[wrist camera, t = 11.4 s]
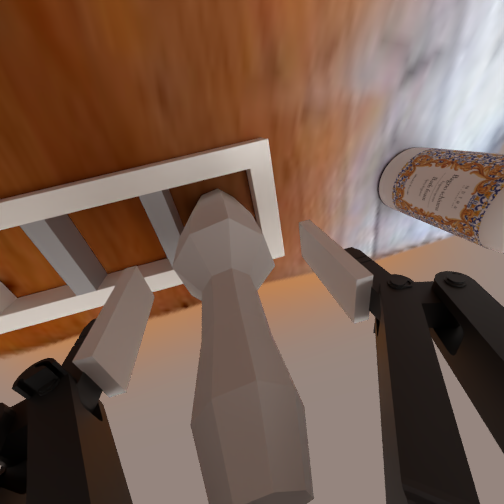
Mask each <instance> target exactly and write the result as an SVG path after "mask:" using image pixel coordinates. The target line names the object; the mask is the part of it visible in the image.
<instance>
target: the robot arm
mask: <svg viewBox="0 0 504 504" xmlns="http://www.w3.org/2000/svg"><path fill="white" fill-rule="evenodd" d="M299 231H300V241H301V252H302V257H303V258H304V259H305V261H306V262H307V263H308V265H309V266H310V267H311V269H312V270H313V271H314V272H315V274H316V275H317V276H318V278H319V279H320V280H321V281H322V283H323V284H324V286H325V287H326V288H327V289H328V291H329V292H330V293H331V294H332V296H333V297H334V299H335V300H336V301H337V302H338V304H339V305H340V306H341V307H342V309H343V310H344V312H345V313H346V314H347V315H348V317H349V318H350V319H351V321H352V322H353V323H358V322H362V321H365V320H368V319H369V311H371V313H372V314H373V315H374V316H375V324H374V333H375V334H376V349H377V365H378V381H379V395H380V411H381V427H382V442H383V458H384V474H385V489H386V504H480V502H479V499H478V496H477V492H476V489H475V485H474V482H473V478H472V475H471V471H470V468H469V465H468V461H467V458H466V454H465V451H464V447H463V444H462V441H461V438H460V434H459V430H458V427H457V424H456V420H455V417H454V413H453V410H452V407H451V403H450V400H449V396H448V393H447V389H446V386H445V383H444V379H443V376H442V372H441V369H440V365H439V362H438V359H437V355H436V352H435V348H434V345H433V341H432V339H433V340H434V342H435V344H436V345H437V347H438V348H439V350H440V352H441V353H442V355H443V356H444V358H445V360H446V361H447V363H448V365H449V366H450V368H451V369H452V371H453V373H454V374H455V376H456V377H457V379H458V381H459V382H460V384H461V385H462V387H463V389H464V390H465V392H466V393H467V395H468V397H469V398H470V400H471V402H472V403H473V405H474V406H475V408H476V410H477V411H478V413H479V415H480V416H481V418H482V419H483V421H484V422H485V424H486V426H487V427H488V429H489V431H490V432H491V434H492V435H493V437H494V439H495V440H496V442H497V443H498V445H499V447H500V448H501V450H502V452H503V453H504V307H503V306H502V305H501V304H499V303H498V302H497V301H496V300H495V299H494V298H493V297H492V296H491V295H490V294H489V293H488V292H487V291H485V290H484V289H483V288H482V287H481V286H480V285H479V284H478V283H477V282H476V281H475V280H473V279H472V278H470V277H469V276H467V275H464V274H462V273H458V272H452V271H451V272H450V271H445V272H440V273H438V274H436V275H435V278H434V281H431V282H414V281H412V280H411V279H410V278H407V277H405V276H402V275H397V274H393V275H391V274H390V273H388V272H387V271H386V270H385V269H383V268H382V267H381V266H379V265H378V264H377V263H376V262H374V261H372V259H370V258H369V257H368V256H367V255H365V254H364V253H363V252H362V251H360V250H358V249H355V248H352V247H350V248H347V249H343V248H342V247H341V246H339V245H338V244H337V243H336V242H335V241H334V240H332V239H331V238H330V237H329V236H328V235H327V234H325V233H324V232H323V231H322V230H321V229H320V228H319V227H317V226H316V225H315V224H314V223H313V222H312V221H310V220H306V221H302V222H299ZM153 300H154V295H153V293H152V291H151V290H150V288H149V286H148V284H147V283H146V281H145V279H144V277H143V276H142V274H141V272H140V270H139V269H138V267H137V266H133V267H129V268H126V269H124V271H123V273H122V275H121V276H120V278H119V280H118V282H117V284H116V285H115V287H114V289H113V291H112V292H111V294H110V296H109V298H108V299H107V301H106V303H105V305H104V306H103V308H102V310H101V312H100V313H99V315H98V317H97V319H93V320H92V321H91V322H90V323H89V324H88V325H87V326H86V327H85V328H84V329H83V331H82V332H81V334H80V336H79V339H77V341H76V343H75V344H74V345H75V346H73V347H72V349H71V351H70V352H69V354H68V356H67V357H66V359H65V361H64V362H63V364H62V366H61V365H60V364H59V363H58V362H57V361H56V360H54V359H53V358H47V359H43V360H41V361H39V362H37V363H35V364H33V365H32V366H30V367H29V368H28V369H26V370H25V371H24V372H23V373H22V374H21V375H20V376H19V377H18V378H17V380H16V381H15V382H14V384H13V387H12V389H13V390H14V391H16V392H18V393H19V394H20V395H22V396H23V397H24V398H26V399H25V400H23V401H22V402H20V403H18V404H16V405H14V406H12V407H8V406H7V405H5V404H4V403H0V465H1V469H0V504H133V503H132V500H131V496H130V493H129V489H128V486H127V483H126V479H125V476H124V473H123V469H122V466H121V463H120V459H119V456H118V452H117V449H116V446H115V442H114V439H113V436H112V432H111V429H110V426H109V422H108V419H107V416H106V412H105V409H104V405H103V404H102V402H101V401H100V400H99V398H100V395H101V393H102V391H103V392H104V393H105V394H106V395H107V396H108V397H112V396H116V395H119V394H122V393H126V392H127V388H128V385H129V381H130V378H131V375H132V371H133V368H134V365H135V361H136V358H137V354H138V351H139V348H140V344H141V341H142V337H143V334H144V331H145V327H146V324H147V321H148V317H149V314H150V311H151V307H152V304H153ZM431 337H432V338H431Z"/></svg>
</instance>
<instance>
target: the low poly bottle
mask: <svg viewBox="0 0 504 504" xmlns="http://www.w3.org/2000/svg"><path fill="white" fill-rule="evenodd" d="M274 266H275V264H274V261H273V259H272V256H271V254H270V251H269V248H268V246H267V243H266V240H265V238H264V235H263V233H262V232H261V230H260V228H259V226H258V225H257V223H256V221H255V219H254V217H253V216H252V214H251V213H250V212H249V211H248V210H247V209H246V208H245V207H244V206H243V205H241V204H240V203H239V202H238V201H237V200H236V199H235V198H234V197H232V196H231V195H229V194H227V193H225V192H223V191H222V190H220V189H218V188H217V189H215V190H213V191H210V192H208V193H206V194H203V195H201V197H200V199H199V201H198V202H197V204H196V206H195V208H194V210H193V211H192V213H191V215H190V217H189V219H188V221H187V223H186V225H185V227H184V229H183V231H182V233H181V235H180V237H179V240H178V245H177V249H176V253H175V258H174V262H173V267H172V268H173V269H174V271H175V272H176V274H177V275H178V276H179V278H180V279H181V281H182V282H183V284H184V285H185V286H186V288H187V289H188V291H189V292H190V294H191V295H192V296H194V297H196V298H198V299H199V300H201V301H202V342H201V349H200V358H199V365H198V373H197V380H196V388H195V397H194V403H193V411H192V420H191V429H192V433H193V436H194V441H195V446H196V450H197V454H198V459H199V463H200V467H201V471H202V476H203V480H204V484H205V489H206V493H207V497H208V501H209V504H307V503H308V502H310V501H311V500H313V499H314V497H313V487H312V477H311V468H310V458H309V448H308V439H307V429H306V419H305V410H304V405H303V403H302V400H301V399H300V396H299V394H298V392H297V389H296V387H295V385H294V383H293V381H292V378H291V376H290V374H289V372H288V369H287V367H286V365H285V363H284V361H283V358H282V356H281V354H280V352H279V350H278V347H277V345H276V343H275V341H274V339H273V336H272V334H271V331H270V328H269V325H268V322H267V319H266V316H265V313H264V310H263V307H262V304H261V301H260V298H259V295H258V292H257V290H258V289H259V288H260V286H261V285H262V283H263V282H264V280H265V279H266V278H267V276H268V275H269V273H270V272H271V271H272V269H273V268H274Z"/></svg>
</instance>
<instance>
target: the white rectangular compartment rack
mask: <svg viewBox="0 0 504 504" xmlns="http://www.w3.org/2000/svg"><path fill="white" fill-rule="evenodd" d="M243 170H246V172H247V177H248V182H249V187H250V192H251V197H252V202H253V207H254V212H255V217H256V222H257V225H258V226H259V228H260V230H261V232H262V233H263V235H264V238H265V240H266V243H267V246H268V248H269V251H270V254H271V256H272V259H275V258H278V257H282V256H285V254H284V247H283V240H282V233H281V226H280V219H279V211H278V204H277V197H276V190H275V183H274V176H273V169H272V162H271V155H270V148H269V141H268V139H266V138H257V139H253V140H248V141H244V142H240V143H236V144H232V145H227V146H223V147H219V148H215V149H211V150H206V151H202V152H198V153H194V154H190V155H185V156H181V157H177V158H173V159H169V160H164V161H160V162H156V163H152V164H147V165H143V166H139V167H135V168H131V169H126V170H122V171H118V172H114V173H110V174H105V175H101V176H97V177H93V178H89V179H84V180H80V181H76V182H72V183H68V184H63V185H59V186H55V187H51V188H47V189H42V190H38V191H34V192H30V193H25V194H21V195H17V196H13V197H9V198H4V199H0V230H3V229H7V228H11V227H15V226H20V227H21V228H22V229H23V231H24V232H25V233H26V234H27V236H28V237H29V238H30V239H31V240H32V242H33V243H34V244H35V245H36V247H37V248H38V249H39V250H40V252H41V253H42V254H43V255H44V256H45V258H46V259H47V260H48V261H49V263H50V264H51V265H52V266H53V268H54V269H55V270H56V271H57V272H58V274H59V275H60V276H61V277H62V279H63V280H64V281H65V282H66V283H67V285H65V286H61V287H57V288H54V289H50V290H46V291H42V292H39V293H35V294H31V295H27V296H24V297H20V298H17V297H16V296H15V295H14V294H13V293H12V292H11V291H10V290H9V289H8V288H7V287H6V286H5V285H4V284H3V283H2V282H1V281H0V334H2V333H5V332H9V331H13V330H16V329H20V328H24V327H27V326H31V325H35V324H38V323H42V322H46V321H49V320H53V319H56V318H60V317H64V316H67V315H71V314H75V313H78V312H82V311H86V310H89V309H93V308H96V307H100V306H104V305H105V303H106V301H107V299H108V298H109V296H110V294H111V292H112V291H113V289H114V287H115V285H116V284H117V282H118V280H119V278H120V276H121V275H122V273H123V271H124V270H121V271H117V272H114V273H110V274H107V273H106V271H105V270H104V268H103V267H102V265H101V264H100V262H99V261H98V259H97V258H96V256H95V255H94V253H93V252H92V250H91V249H90V247H89V246H88V244H87V243H86V241H85V240H84V238H83V237H82V235H81V234H80V232H79V231H78V229H77V228H76V227H75V225H74V224H73V222H72V221H71V219H70V218H69V216H68V215H67V214H68V213H72V212H76V211H80V210H84V209H88V208H92V207H96V206H100V205H105V204H109V203H113V202H117V201H121V200H125V199H129V198H133V197H137V196H139V198H140V200H141V202H142V205H143V207H144V209H145V211H146V213H147V215H148V217H149V219H150V221H151V224H152V226H153V228H154V230H155V232H156V234H157V236H158V238H159V241H160V243H161V245H162V247H163V249H164V251H165V253H166V255H167V258H166V259H163V260H159V261H155V262H151V263H148V264H144V265H140V266H137V267H138V269H139V270H140V272H141V274H142V276H143V277H144V279H145V281H146V283H147V284H148V286H149V288H150V290H151V291H152V292H155V291H158V290H162V289H166V288H169V287H173V286H177V285H180V284H183V282H182V281H181V279H180V278H179V276H178V275H177V274H176V272H175V271H174V269H173V268H172V267H173V262H174V258H175V253H176V249H177V245H178V240H179V237H180V235H181V233H182V231H183V229H184V226H183V224H182V221H181V219H180V216H179V214H178V211H177V209H176V206H175V204H174V201H173V198H172V196H171V193H170V191H169V189H170V188H174V187H178V186H182V185H186V184H190V183H194V182H198V181H202V180H206V179H210V178H214V177H218V176H222V175H226V174H230V173H235V172H239V171H243Z"/></svg>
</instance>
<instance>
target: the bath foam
mask: <svg viewBox="0 0 504 504" xmlns="http://www.w3.org/2000/svg"><path fill="white" fill-rule="evenodd" d="M379 194H380V198H381V200H382V201H383V203H384V204H386V205H387V206H389V207H391V208H393V209H395V210H398V211H400V212H402V213H404V214H407V215H409V216H412V217H414V218H416V219H419V220H421V221H423V222H426V223H428V224H430V225H433V226H435V227H438V228H440V229H442V230H445V231H447V232H449V233H452V234H454V235H456V236H459V237H461V238H464V239H466V240H468V241H471V242H473V243H475V244H478V245H480V246H483V247H485V248H487V249H491V250H494V251H497V252H500V253H504V154H494V153H483V152H471V151H459V150H447V149H433V148H421V147H417V148H411V149H408V150H405V151H403V152H402V153H400V154H399V155H397V156H396V157H395V158H394V159H393V160H392V161H391V162H390V163H389V164H388V166H387V167H386V168H385V170H384V172H383V174H382V176H381V179H380V183H379Z"/></svg>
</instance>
